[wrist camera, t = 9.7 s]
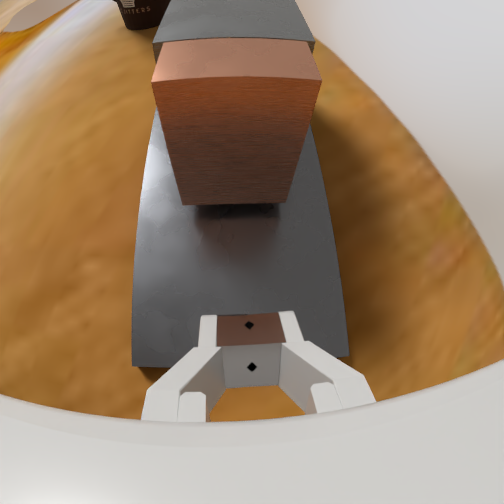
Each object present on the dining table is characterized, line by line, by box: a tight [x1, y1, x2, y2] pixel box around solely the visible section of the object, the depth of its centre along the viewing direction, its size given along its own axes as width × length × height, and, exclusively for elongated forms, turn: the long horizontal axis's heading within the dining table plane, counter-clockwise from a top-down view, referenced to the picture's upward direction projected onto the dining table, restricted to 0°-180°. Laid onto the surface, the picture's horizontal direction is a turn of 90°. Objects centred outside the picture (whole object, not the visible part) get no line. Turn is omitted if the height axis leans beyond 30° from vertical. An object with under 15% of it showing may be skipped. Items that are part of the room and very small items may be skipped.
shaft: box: [151, 38, 322, 206], centre depth 16 cm, size 17×6×9 cm, turn 4°
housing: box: [132, 0, 349, 368], centre depth 16 cm, size 28×12×10 cm, turn 3°
